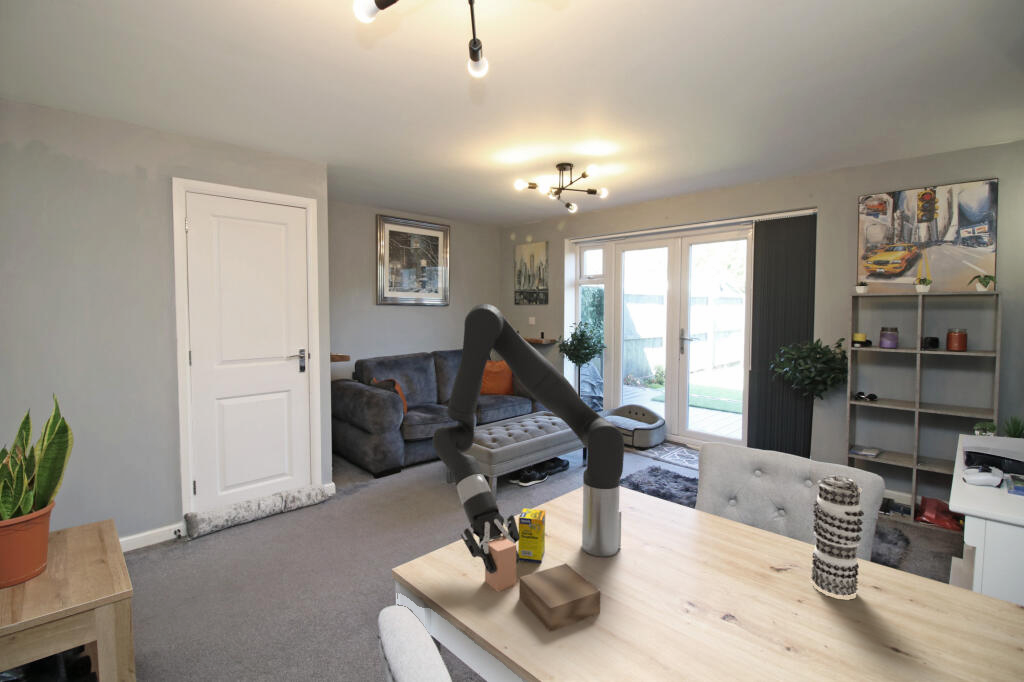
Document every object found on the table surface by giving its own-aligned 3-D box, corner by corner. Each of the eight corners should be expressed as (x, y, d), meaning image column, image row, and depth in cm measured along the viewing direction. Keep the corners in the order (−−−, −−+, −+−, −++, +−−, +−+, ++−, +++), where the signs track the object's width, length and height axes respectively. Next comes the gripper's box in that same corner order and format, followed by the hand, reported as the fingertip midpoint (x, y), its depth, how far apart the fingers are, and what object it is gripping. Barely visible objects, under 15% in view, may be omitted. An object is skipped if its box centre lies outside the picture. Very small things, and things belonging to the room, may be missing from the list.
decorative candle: (853, 583, 109) (860, 475, 107) (863, 606, 100) (870, 489, 99) (806, 574, 113) (812, 469, 111) (812, 594, 104) (818, 482, 103)
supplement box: (541, 563, 116) (542, 519, 115) (517, 561, 117) (518, 517, 117) (545, 551, 122) (545, 509, 121) (522, 549, 123) (522, 507, 122)
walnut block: (565, 585, 108) (566, 563, 107) (599, 614, 97) (600, 591, 97) (519, 600, 102) (519, 577, 102) (550, 633, 91) (550, 608, 91)
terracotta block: (503, 574, 111) (503, 536, 111) (516, 584, 107) (516, 544, 107) (485, 581, 108) (485, 542, 108) (497, 591, 104) (497, 551, 104)
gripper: (456, 497, 109) (484, 571, 100) (507, 484, 117) (538, 551, 108) (445, 512, 113) (471, 584, 104) (495, 498, 122) (523, 564, 113)
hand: (505, 567), depth 106 cm, fingers open, 5 cm apart
